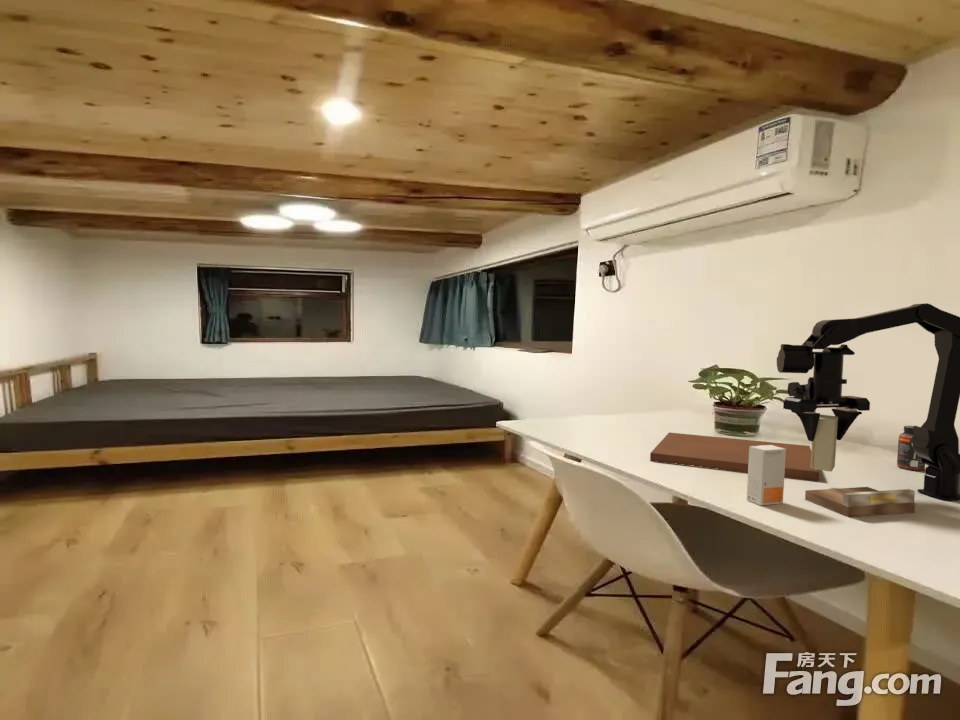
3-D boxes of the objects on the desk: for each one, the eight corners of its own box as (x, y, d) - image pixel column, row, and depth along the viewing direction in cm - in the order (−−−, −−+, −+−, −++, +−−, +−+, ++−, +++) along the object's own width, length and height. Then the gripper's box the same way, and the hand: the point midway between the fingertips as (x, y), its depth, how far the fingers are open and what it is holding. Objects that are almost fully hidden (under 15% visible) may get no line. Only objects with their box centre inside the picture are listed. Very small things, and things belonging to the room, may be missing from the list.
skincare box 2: (814, 463, 131) (816, 413, 131) (836, 466, 129) (838, 416, 128) (809, 468, 127) (812, 417, 126) (832, 472, 124) (835, 419, 123)
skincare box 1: (761, 506, 114) (763, 450, 113) (745, 500, 118) (748, 445, 117) (784, 504, 116) (786, 448, 115) (768, 497, 120) (770, 444, 119)
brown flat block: (866, 495, 122) (867, 476, 122) (915, 512, 111) (916, 491, 111) (805, 499, 119) (806, 479, 119) (848, 517, 108) (849, 495, 108)
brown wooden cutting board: (818, 484, 133) (809, 455, 162) (819, 471, 133) (809, 445, 162) (650, 463, 152) (668, 441, 181) (650, 452, 151) (668, 432, 180)
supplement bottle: (921, 472, 142) (924, 429, 141) (893, 467, 146) (896, 426, 146) (927, 468, 146) (930, 427, 145) (900, 464, 150) (902, 423, 149)
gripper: (833, 370, 136) (830, 432, 137) (767, 371, 132) (765, 434, 133) (873, 374, 125) (869, 441, 126) (803, 375, 121) (800, 444, 122)
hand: (824, 440), depth 127 cm, fingers closed on skincare box 2, 7 cm apart
